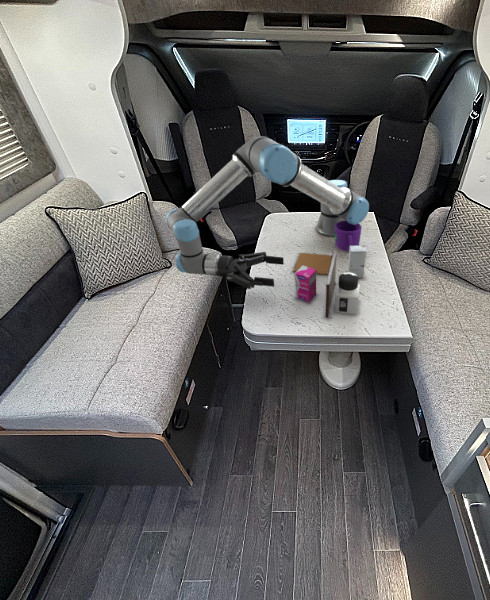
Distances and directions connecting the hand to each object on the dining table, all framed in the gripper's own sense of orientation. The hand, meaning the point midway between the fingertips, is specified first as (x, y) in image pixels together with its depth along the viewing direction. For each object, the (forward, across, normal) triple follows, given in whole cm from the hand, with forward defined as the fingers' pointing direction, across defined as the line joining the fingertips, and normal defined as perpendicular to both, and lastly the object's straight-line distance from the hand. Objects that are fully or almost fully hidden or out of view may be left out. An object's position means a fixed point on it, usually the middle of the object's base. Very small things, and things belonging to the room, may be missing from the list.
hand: (278, 271), depth 119 cm
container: (+25, +3, -10) cm, 27 cm away
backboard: (+18, 0, -10) cm, 21 cm away
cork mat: (+8, -22, -10) cm, 26 cm away
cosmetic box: (+26, -17, -10) cm, 33 cm away
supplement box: (+10, 0, -10) cm, 14 cm away
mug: (+22, -36, -10) cm, 43 cm away
